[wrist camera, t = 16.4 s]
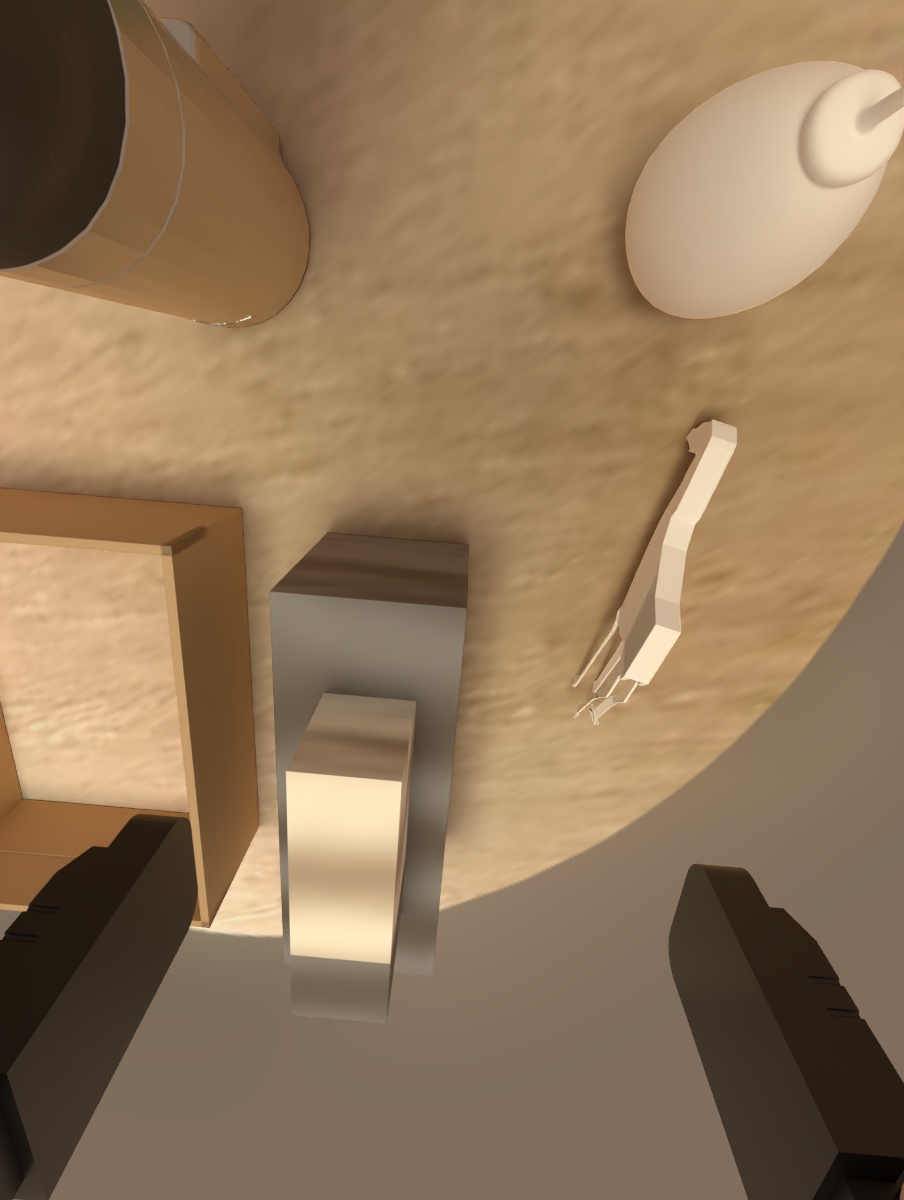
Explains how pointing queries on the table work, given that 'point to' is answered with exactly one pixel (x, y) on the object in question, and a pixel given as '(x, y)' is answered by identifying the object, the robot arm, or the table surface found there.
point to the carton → (202, 676)
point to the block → (348, 854)
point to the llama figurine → (661, 574)
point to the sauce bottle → (760, 186)
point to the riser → (378, 686)
